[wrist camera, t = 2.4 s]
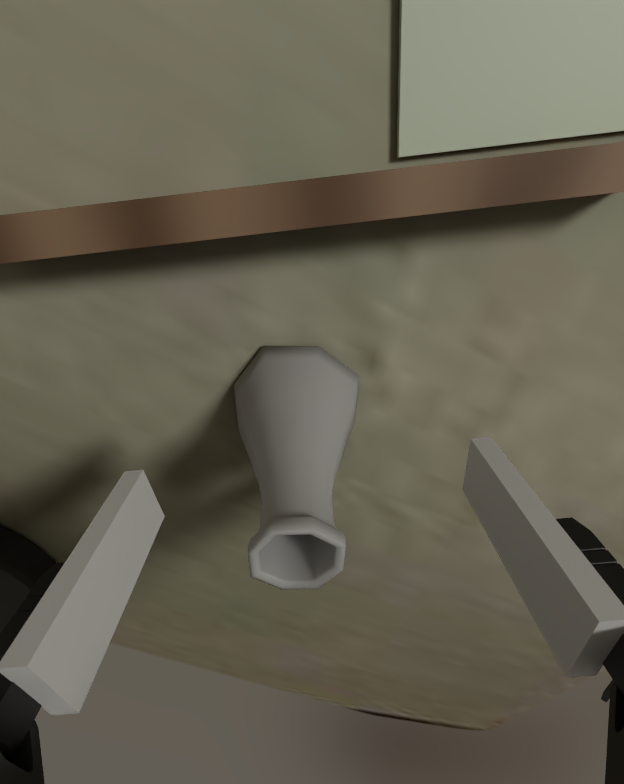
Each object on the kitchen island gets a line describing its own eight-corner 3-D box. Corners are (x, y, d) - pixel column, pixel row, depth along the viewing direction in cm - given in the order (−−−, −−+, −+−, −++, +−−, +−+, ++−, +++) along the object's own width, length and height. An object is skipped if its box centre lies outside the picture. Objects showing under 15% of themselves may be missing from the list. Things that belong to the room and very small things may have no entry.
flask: (220, 432, 20) (163, 606, 12) (251, 322, 17) (205, 449, 8) (331, 461, 22) (355, 634, 13) (380, 364, 19) (454, 509, 10)
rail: (14, 257, 15) (-44, 269, 12) (-4, 219, 14) (-71, 223, 12) (624, 186, 15) (695, 183, 12) (637, 143, 14) (716, 131, 11)
